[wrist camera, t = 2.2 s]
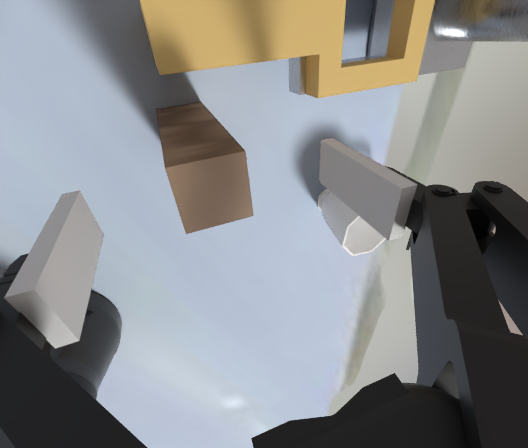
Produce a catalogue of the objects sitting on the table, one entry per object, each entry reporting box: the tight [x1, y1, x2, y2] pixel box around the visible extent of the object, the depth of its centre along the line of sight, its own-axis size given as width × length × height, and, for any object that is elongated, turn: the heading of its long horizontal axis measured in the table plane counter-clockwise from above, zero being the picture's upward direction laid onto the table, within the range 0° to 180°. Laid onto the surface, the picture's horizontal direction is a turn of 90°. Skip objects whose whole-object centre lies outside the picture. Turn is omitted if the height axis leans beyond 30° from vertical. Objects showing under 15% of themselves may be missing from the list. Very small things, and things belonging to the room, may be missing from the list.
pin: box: [156, 102, 253, 234], centre depth 20 cm, size 4×4×14 cm
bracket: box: [140, 0, 435, 98], centre depth 20 cm, size 20×9×8 cm, turn 94°
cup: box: [317, 188, 386, 256], centre depth 33 cm, size 7×10×8 cm
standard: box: [289, 0, 528, 95], centre depth 18 cm, size 18×9×18 cm, turn 94°
